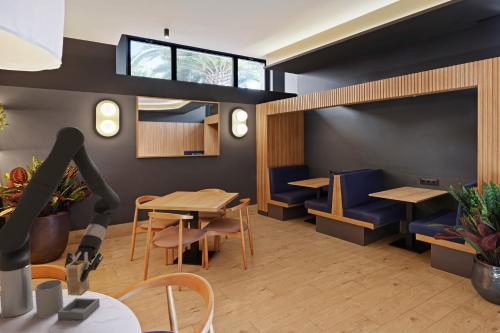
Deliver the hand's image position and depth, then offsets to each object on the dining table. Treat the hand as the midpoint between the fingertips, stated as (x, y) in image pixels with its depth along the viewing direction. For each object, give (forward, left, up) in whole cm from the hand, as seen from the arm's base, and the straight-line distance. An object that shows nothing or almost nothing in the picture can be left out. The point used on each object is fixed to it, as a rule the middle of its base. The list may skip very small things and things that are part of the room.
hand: (74, 280), depth 108 cm
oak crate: (+1, +1, -5) cm, 5 cm away
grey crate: (+1, +1, -13) cm, 13 cm away
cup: (-8, +10, -13) cm, 19 cm away
